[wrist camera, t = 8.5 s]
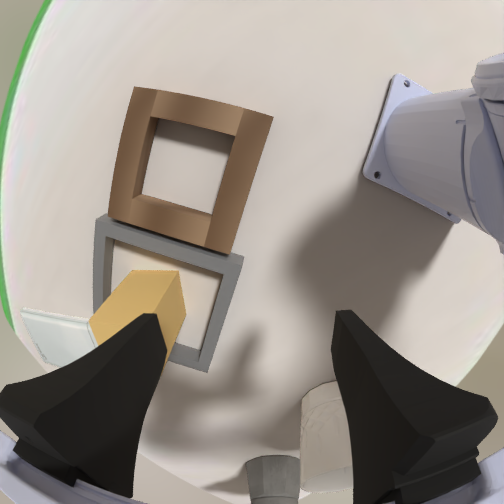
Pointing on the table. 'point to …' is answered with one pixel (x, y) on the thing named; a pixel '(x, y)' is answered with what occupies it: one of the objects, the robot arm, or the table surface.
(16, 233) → the table surface
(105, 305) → the peg
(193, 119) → the socket block
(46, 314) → the hard drive
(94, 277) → the gray square frame
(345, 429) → the white cup
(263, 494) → the coffeepot
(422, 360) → the table surface
